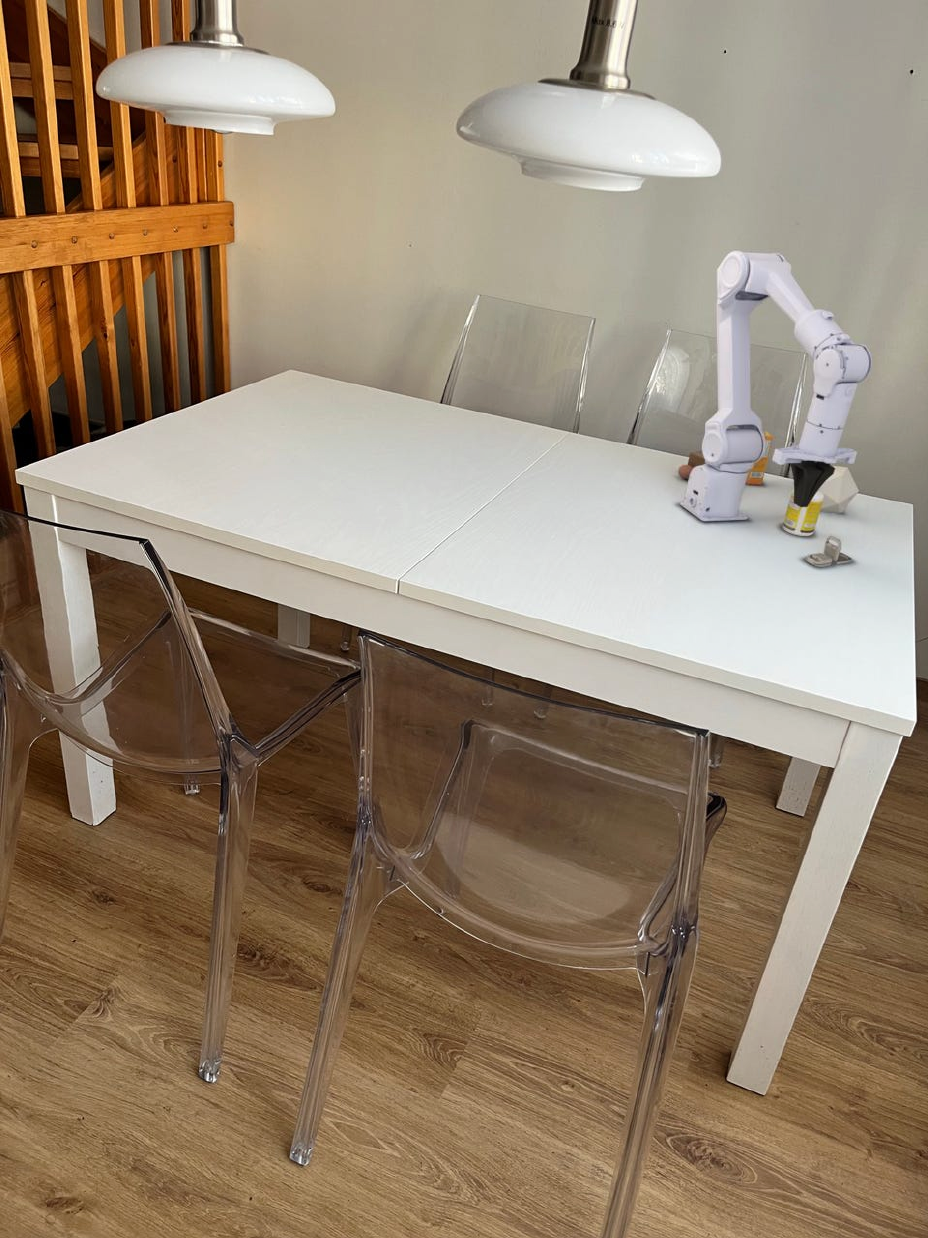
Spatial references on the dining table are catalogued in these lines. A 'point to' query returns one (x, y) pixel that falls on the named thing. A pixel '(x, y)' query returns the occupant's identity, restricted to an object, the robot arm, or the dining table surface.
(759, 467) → the supplement box
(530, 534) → the dining table surface
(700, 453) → the walnut block
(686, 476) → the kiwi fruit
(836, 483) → the die
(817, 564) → the strap clip
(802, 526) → the supplement bottle
